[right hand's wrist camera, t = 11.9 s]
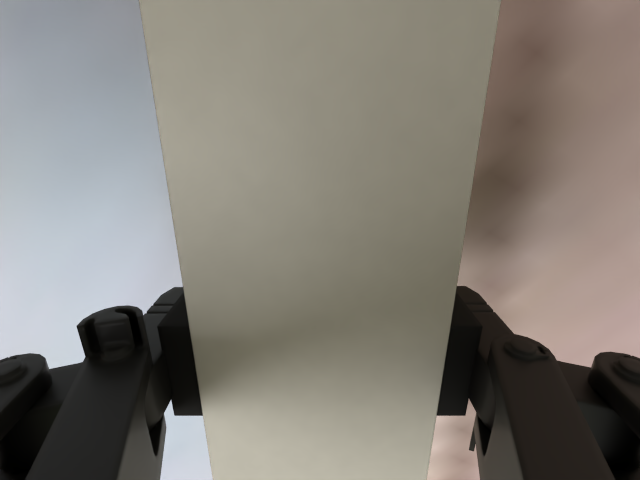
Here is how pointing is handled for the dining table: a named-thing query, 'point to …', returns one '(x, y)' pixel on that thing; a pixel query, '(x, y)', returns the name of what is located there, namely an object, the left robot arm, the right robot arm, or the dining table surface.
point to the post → (319, 219)
